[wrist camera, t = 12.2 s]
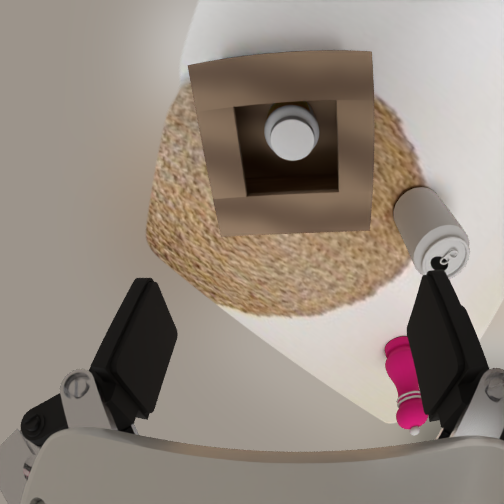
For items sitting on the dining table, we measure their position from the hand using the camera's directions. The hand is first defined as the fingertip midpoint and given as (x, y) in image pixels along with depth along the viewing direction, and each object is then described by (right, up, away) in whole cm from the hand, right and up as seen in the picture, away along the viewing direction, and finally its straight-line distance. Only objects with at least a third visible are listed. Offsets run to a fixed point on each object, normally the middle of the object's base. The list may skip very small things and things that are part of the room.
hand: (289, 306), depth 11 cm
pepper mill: (+28, -17, +47) cm, 57 cm away
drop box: (+3, +18, +24) cm, 30 cm away
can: (+22, +8, +29) cm, 37 cm away
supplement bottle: (+3, +18, +24) cm, 30 cm away
